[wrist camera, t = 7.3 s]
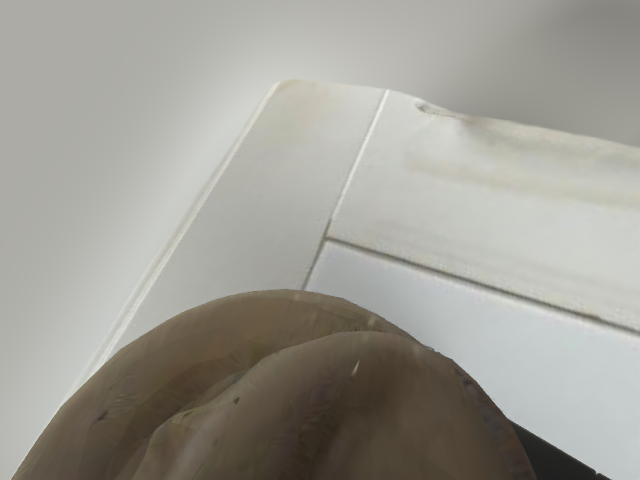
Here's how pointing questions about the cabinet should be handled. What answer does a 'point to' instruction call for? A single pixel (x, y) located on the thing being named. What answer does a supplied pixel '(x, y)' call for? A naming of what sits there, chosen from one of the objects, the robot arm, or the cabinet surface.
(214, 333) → the light bulb
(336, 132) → the cabinet surface
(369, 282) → the cabinet surface
